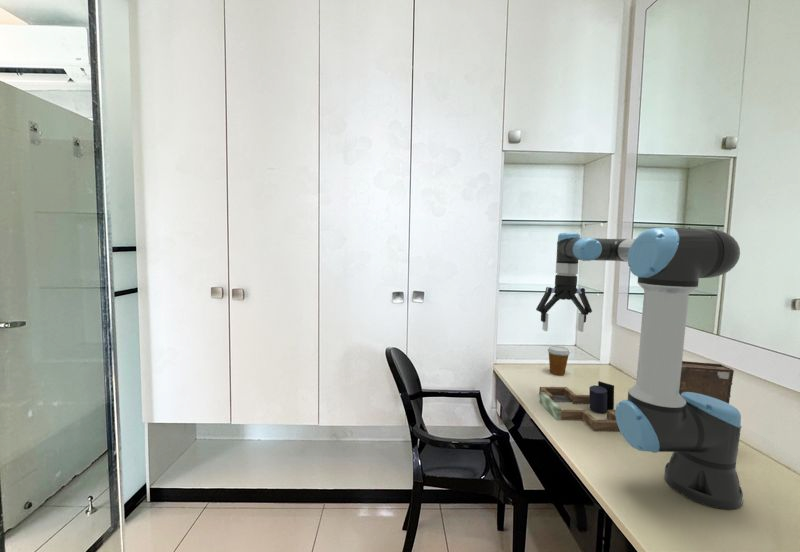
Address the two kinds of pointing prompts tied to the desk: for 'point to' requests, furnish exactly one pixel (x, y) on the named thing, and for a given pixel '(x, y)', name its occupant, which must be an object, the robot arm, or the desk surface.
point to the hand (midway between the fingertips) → (562, 330)
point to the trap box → (565, 395)
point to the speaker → (601, 397)
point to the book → (706, 379)
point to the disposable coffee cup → (558, 360)
